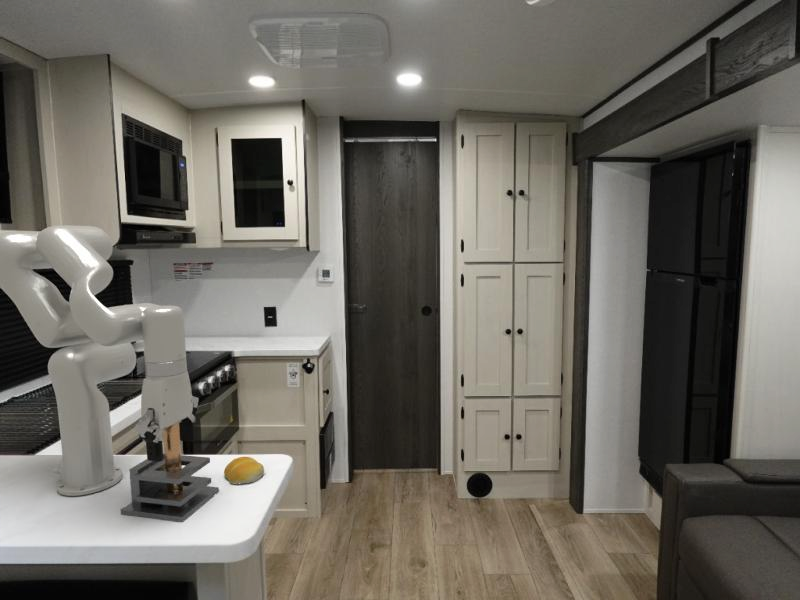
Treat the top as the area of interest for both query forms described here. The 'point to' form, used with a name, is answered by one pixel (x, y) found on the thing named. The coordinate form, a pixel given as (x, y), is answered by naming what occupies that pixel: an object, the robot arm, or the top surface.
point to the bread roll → (243, 470)
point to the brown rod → (173, 455)
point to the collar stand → (153, 493)
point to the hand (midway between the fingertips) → (172, 450)
